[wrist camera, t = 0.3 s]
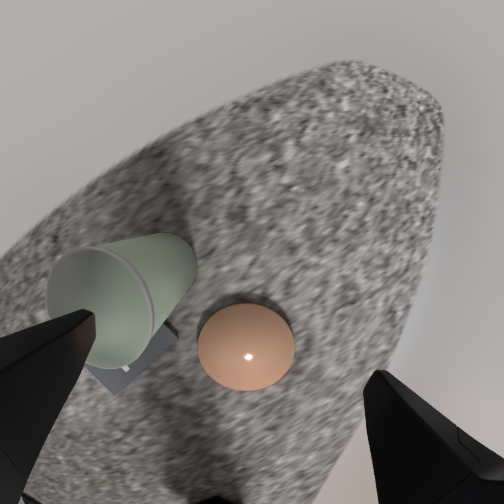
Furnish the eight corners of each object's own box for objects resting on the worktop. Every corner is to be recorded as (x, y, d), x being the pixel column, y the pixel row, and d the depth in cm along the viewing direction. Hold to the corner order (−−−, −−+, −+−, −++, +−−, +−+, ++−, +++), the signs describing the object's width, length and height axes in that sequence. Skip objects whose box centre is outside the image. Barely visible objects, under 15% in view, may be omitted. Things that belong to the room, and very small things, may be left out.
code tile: (115, 393, 24) (114, 395, 24) (59, 335, 24) (57, 336, 23) (178, 337, 24) (178, 338, 23) (113, 268, 23) (111, 268, 23)
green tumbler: (165, 312, 23) (105, 388, 12) (120, 264, 23) (29, 302, 11) (212, 267, 23) (178, 320, 11) (164, 217, 23) (87, 219, 11)
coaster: (244, 401, 25) (244, 405, 24) (179, 344, 24) (177, 347, 23) (312, 347, 24) (314, 350, 23) (248, 282, 23) (248, 284, 23)
